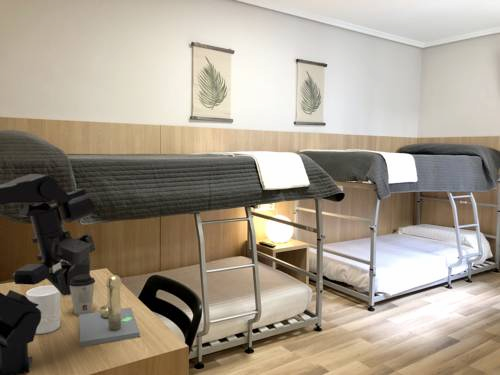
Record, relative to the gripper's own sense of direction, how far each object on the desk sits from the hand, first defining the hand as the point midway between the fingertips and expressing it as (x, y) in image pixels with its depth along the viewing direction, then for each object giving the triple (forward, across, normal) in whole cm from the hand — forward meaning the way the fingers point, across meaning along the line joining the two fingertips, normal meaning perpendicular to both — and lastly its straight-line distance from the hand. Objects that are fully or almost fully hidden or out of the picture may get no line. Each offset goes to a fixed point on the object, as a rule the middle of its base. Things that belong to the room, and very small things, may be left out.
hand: (66, 294), depth 96 cm
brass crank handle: (+13, +11, -1) cm, 17 cm away
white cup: (+12, +4, +14) cm, 19 cm away
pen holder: (+16, +29, +28) cm, 43 cm away
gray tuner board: (+14, +10, 0) cm, 18 cm away
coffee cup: (+15, +16, +13) cm, 25 cm away
